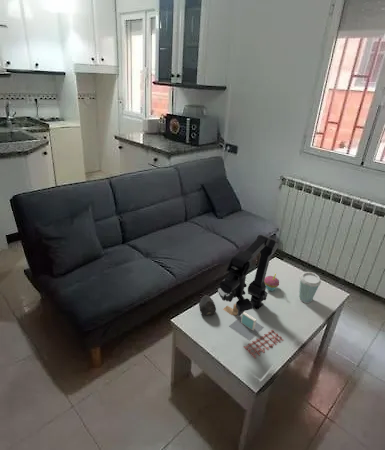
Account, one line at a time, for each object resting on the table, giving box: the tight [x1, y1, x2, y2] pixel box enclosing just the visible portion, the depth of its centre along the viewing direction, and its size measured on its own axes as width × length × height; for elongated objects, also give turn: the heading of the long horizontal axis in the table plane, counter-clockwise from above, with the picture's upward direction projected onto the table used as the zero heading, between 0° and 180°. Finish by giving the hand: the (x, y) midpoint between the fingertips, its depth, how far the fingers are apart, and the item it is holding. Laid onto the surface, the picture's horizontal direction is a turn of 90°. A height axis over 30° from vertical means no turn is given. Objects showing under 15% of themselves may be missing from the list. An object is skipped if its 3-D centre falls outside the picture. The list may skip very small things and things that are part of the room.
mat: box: [228, 315, 265, 341], centre depth 147 cm, size 12×12×1 cm
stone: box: [198, 294, 217, 316], centre depth 152 cm, size 8×8×10 cm
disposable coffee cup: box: [298, 271, 322, 304], centre depth 165 cm, size 11×11×15 cm
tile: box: [241, 311, 257, 330], centre depth 146 cm, size 2×7×6 cm, turn 46°
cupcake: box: [264, 273, 280, 292], centre depth 172 cm, size 9×8×12 cm
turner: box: [222, 303, 238, 317], centre depth 154 cm, size 4×8×6 cm, turn 46°
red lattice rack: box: [243, 329, 284, 359], centre depth 138 cm, size 7×19×2 cm, turn 125°
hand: (234, 308), depth 140 cm, fingers open, 9 cm apart
